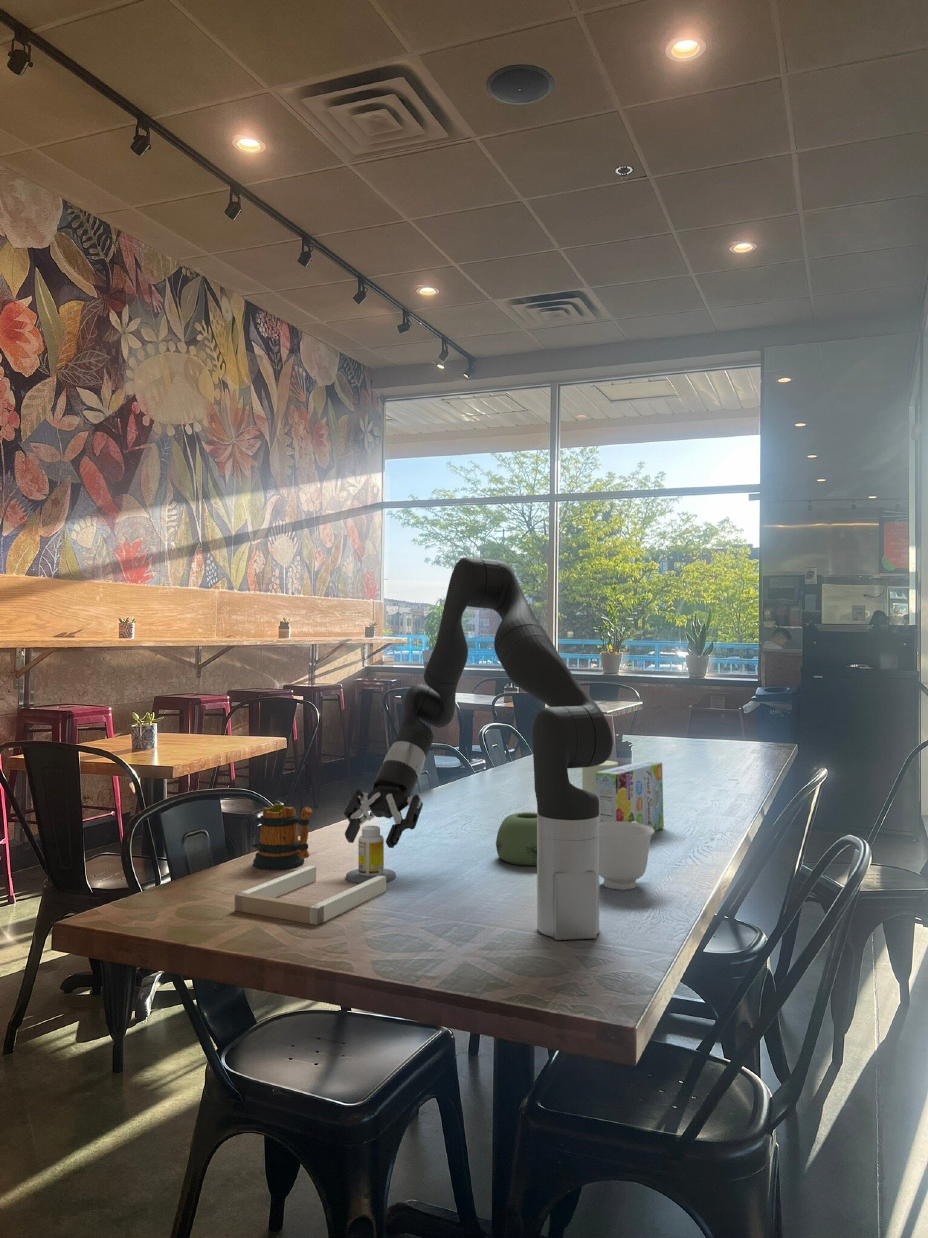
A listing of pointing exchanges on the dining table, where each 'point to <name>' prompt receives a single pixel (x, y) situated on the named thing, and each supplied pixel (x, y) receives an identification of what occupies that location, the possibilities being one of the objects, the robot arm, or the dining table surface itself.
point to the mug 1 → (282, 838)
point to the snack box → (631, 794)
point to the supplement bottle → (371, 852)
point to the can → (594, 775)
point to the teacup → (623, 853)
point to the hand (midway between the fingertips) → (368, 843)
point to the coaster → (357, 878)
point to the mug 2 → (518, 839)
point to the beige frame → (267, 904)
